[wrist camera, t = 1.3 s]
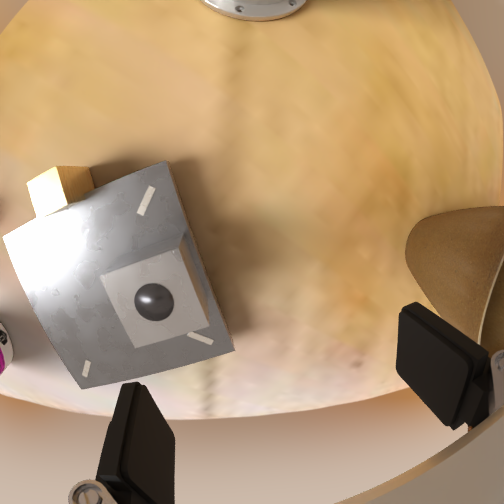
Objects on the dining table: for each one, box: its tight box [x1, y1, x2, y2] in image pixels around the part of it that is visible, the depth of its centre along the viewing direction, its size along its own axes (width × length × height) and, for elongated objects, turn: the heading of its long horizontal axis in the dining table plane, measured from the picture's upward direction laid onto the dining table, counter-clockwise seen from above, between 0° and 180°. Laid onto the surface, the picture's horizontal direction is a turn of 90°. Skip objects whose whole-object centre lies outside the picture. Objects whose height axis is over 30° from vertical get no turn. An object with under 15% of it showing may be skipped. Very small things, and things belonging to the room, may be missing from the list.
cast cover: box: [100, 233, 209, 348], centre depth 22 cm, size 6×6×5 cm
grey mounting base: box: [3, 160, 235, 389], centre depth 23 cm, size 18×20×7 cm
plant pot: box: [405, 206, 504, 358], centre depth 24 cm, size 15×15×16 cm
